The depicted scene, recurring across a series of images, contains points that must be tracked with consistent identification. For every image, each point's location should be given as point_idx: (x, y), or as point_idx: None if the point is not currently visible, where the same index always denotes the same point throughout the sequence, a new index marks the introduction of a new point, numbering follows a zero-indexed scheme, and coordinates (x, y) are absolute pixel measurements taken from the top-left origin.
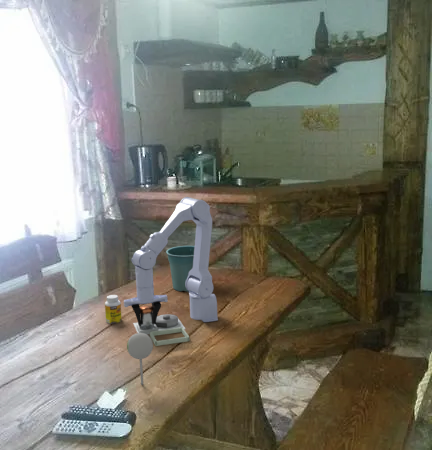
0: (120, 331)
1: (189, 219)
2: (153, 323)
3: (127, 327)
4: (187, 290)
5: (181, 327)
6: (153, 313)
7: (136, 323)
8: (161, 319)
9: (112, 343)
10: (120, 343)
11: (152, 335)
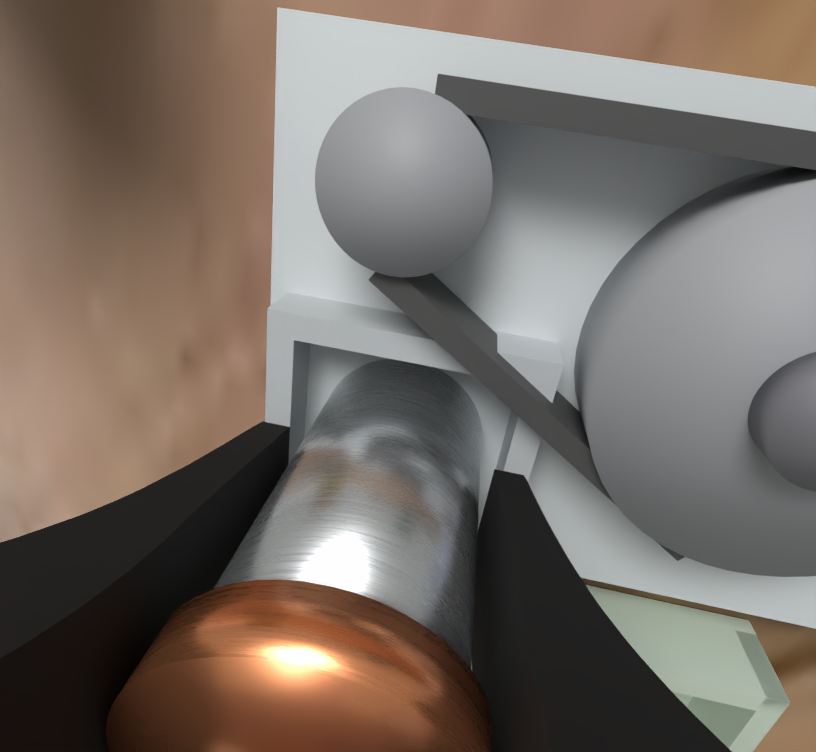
0: (94, 142)
1: None
2: (481, 518)
3: (205, 16)
4: None
5: (772, 701)
6: (489, 672)
7: (333, 64)
8: (706, 410)
9: (16, 441)
10: (91, 480)
11: None
